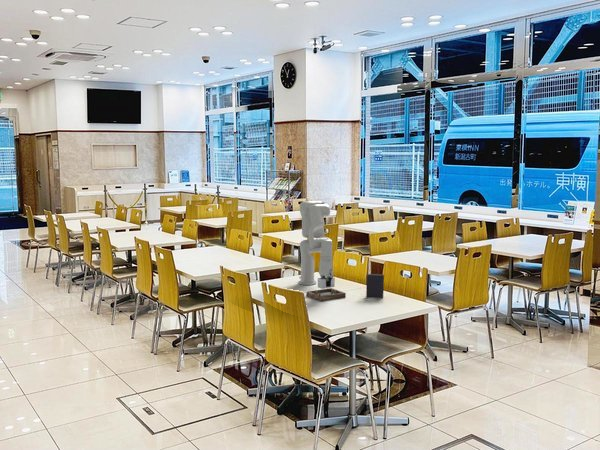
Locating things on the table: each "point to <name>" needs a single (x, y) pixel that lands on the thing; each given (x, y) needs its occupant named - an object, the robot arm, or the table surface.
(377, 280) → the calculator
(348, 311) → the table surface
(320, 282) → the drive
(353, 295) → the table surface
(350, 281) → the table surface
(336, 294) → the tray
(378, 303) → the table surface
